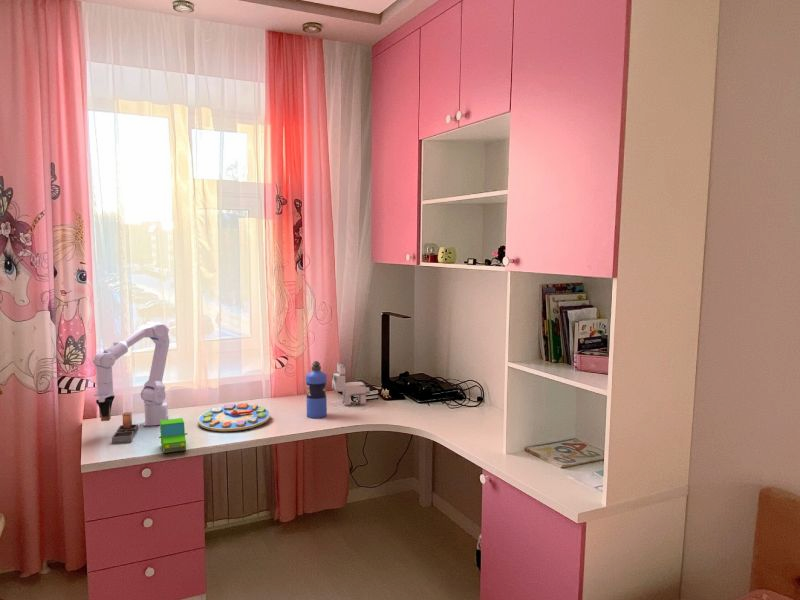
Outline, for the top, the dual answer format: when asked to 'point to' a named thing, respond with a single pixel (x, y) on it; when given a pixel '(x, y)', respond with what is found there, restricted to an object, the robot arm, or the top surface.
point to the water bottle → (316, 392)
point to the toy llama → (348, 387)
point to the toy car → (173, 435)
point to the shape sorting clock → (234, 417)
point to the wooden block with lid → (105, 417)
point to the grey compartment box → (125, 430)
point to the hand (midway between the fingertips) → (106, 415)
